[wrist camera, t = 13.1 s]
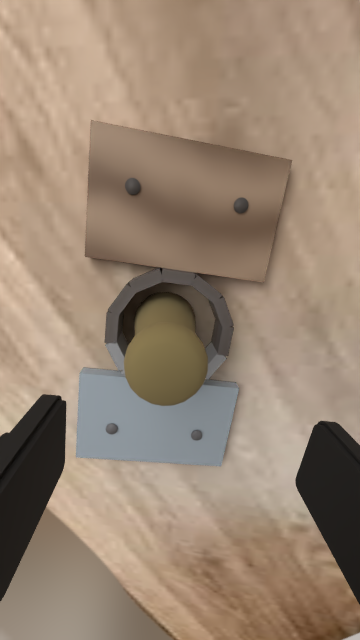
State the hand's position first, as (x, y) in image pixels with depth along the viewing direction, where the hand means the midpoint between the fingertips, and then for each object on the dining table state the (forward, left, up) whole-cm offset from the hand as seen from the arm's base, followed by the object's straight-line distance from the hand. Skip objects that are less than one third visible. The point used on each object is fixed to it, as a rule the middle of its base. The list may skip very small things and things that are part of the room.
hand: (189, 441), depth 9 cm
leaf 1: (-7, 0, -16) cm, 17 cm away
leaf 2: (+9, 0, -16) cm, 18 cm away
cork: (0, -1, -16) cm, 16 cm away
